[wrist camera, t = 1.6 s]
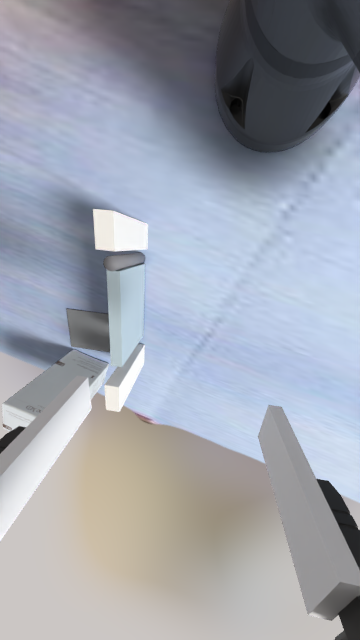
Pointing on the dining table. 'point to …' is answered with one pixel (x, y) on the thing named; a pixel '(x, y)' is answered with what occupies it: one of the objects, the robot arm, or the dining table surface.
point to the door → (125, 304)
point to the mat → (89, 330)
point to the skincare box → (51, 388)
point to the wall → (121, 236)
